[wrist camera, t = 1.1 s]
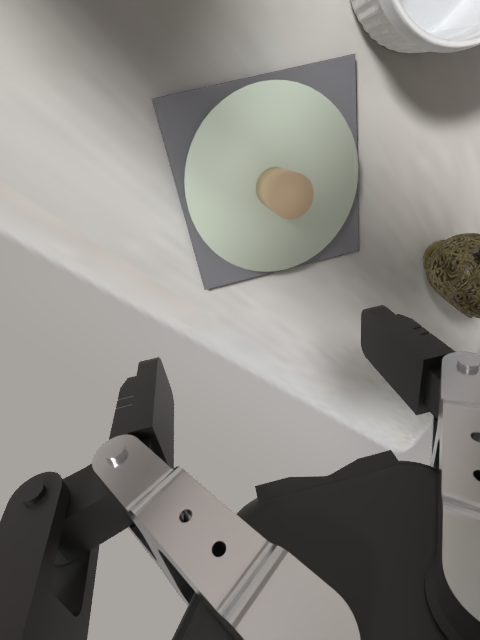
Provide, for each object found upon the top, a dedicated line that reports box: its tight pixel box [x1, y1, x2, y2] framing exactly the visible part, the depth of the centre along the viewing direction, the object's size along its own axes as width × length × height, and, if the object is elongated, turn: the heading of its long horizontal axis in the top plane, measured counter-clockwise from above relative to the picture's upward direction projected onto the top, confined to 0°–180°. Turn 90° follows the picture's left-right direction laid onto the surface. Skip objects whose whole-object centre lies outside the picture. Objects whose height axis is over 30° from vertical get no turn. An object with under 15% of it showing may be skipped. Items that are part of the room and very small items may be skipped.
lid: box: [184, 80, 358, 272], centre depth 27 cm, size 15×15×6 cm
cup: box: [423, 233, 480, 318], centre depth 33 cm, size 8×7×8 cm
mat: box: [152, 54, 359, 290], centre depth 30 cm, size 16×16×1 cm
